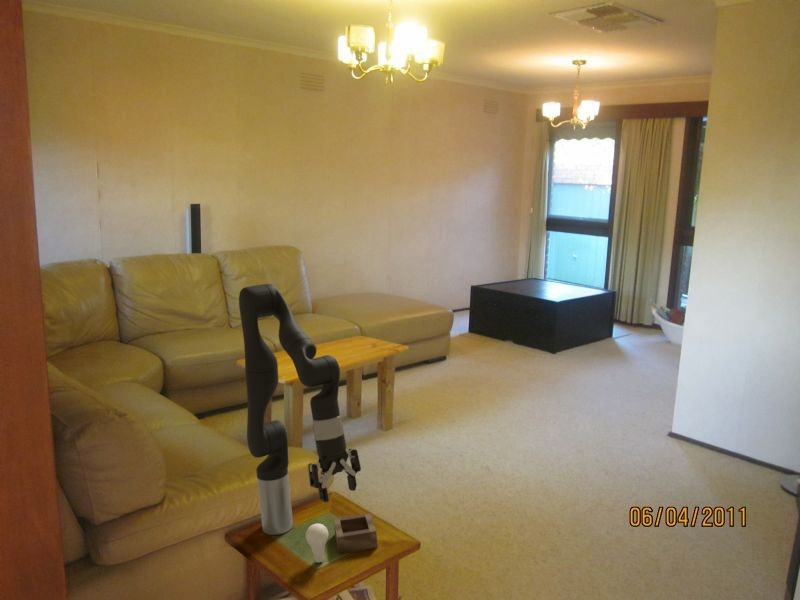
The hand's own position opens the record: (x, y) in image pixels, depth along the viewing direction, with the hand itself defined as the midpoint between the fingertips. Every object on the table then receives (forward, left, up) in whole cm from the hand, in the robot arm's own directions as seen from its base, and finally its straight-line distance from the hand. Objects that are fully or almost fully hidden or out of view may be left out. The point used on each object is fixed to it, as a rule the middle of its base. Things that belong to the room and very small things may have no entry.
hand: (339, 495), depth 167 cm
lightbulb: (-8, -6, -23) cm, 25 cm away
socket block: (-16, +5, -22) cm, 28 cm away
